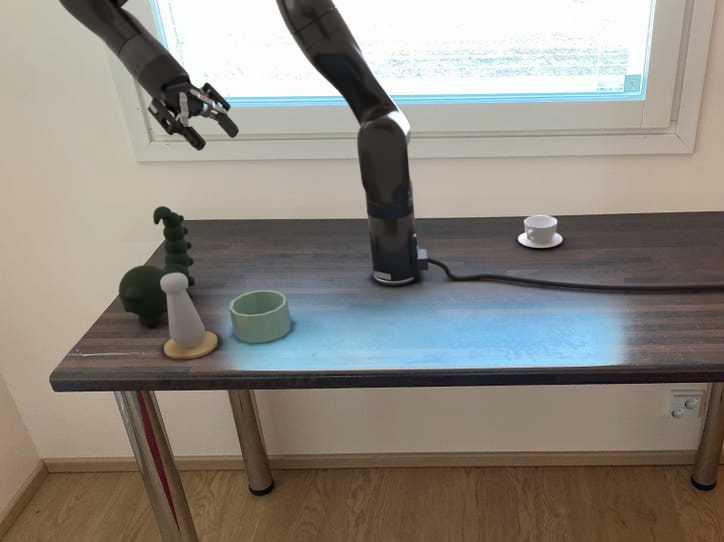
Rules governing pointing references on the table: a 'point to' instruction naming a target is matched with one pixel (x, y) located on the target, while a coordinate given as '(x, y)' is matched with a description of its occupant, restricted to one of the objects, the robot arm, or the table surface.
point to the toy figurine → (157, 272)
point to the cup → (260, 316)
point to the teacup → (540, 232)
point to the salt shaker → (182, 312)
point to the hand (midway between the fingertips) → (219, 140)
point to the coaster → (189, 353)
